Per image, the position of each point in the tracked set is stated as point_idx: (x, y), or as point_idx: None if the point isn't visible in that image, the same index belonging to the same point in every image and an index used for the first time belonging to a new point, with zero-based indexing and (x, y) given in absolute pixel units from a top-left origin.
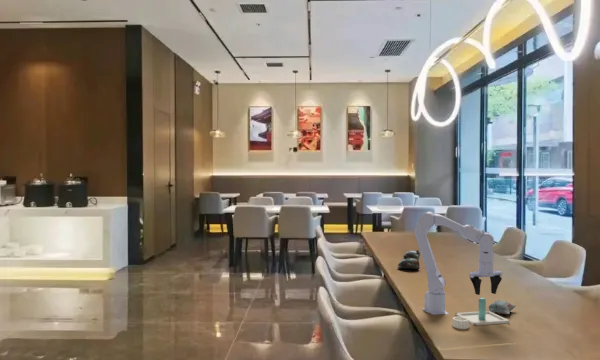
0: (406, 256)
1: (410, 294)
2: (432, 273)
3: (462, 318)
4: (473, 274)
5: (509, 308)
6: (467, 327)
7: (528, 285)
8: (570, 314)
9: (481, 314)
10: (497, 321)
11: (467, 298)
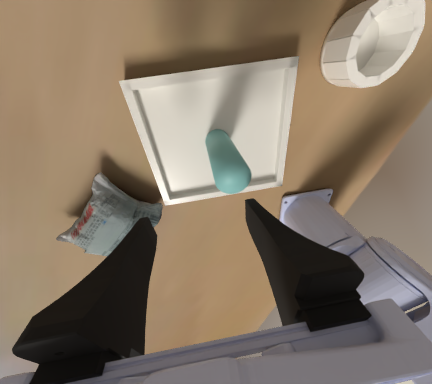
0: None
1: (270, 298)
2: None
3: (353, 69)
4: (411, 349)
5: (85, 209)
6: (353, 8)
7: (14, 356)
8: None
9: (228, 137)
10: (182, 72)
11: (172, 292)
